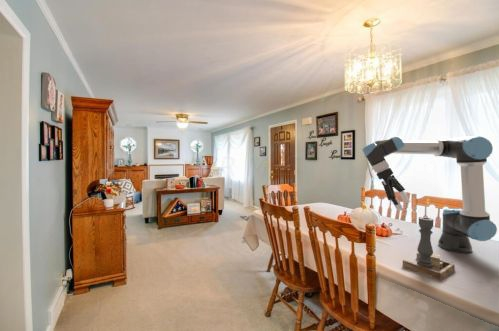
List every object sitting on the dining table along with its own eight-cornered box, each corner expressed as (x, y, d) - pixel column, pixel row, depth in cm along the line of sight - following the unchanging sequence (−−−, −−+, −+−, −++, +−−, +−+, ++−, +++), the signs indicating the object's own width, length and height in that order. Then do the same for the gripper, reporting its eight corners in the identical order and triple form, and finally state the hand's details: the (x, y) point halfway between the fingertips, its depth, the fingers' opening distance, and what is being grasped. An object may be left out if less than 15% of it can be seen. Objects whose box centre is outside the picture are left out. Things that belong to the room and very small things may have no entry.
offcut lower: (423, 262, 123) (423, 256, 123) (442, 268, 116) (442, 262, 116) (419, 265, 120) (419, 259, 120) (438, 271, 113) (438, 265, 113)
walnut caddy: (417, 258, 127) (417, 252, 127) (454, 270, 114) (454, 264, 114) (402, 266, 118) (402, 260, 118) (440, 280, 105) (440, 273, 105)
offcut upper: (422, 257, 122) (422, 251, 122) (439, 261, 118) (439, 255, 117) (421, 260, 119) (421, 254, 118) (439, 264, 114) (439, 258, 114)
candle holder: (425, 266, 118) (427, 216, 117) (436, 272, 112) (437, 220, 110) (413, 266, 118) (414, 216, 116) (423, 273, 111) (424, 220, 110)
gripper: (383, 168, 140) (403, 201, 135) (367, 177, 122) (390, 216, 118) (396, 163, 134) (417, 197, 130) (381, 172, 117) (405, 211, 113)
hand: (404, 206), depth 124 cm, fingers open, 13 cm apart
